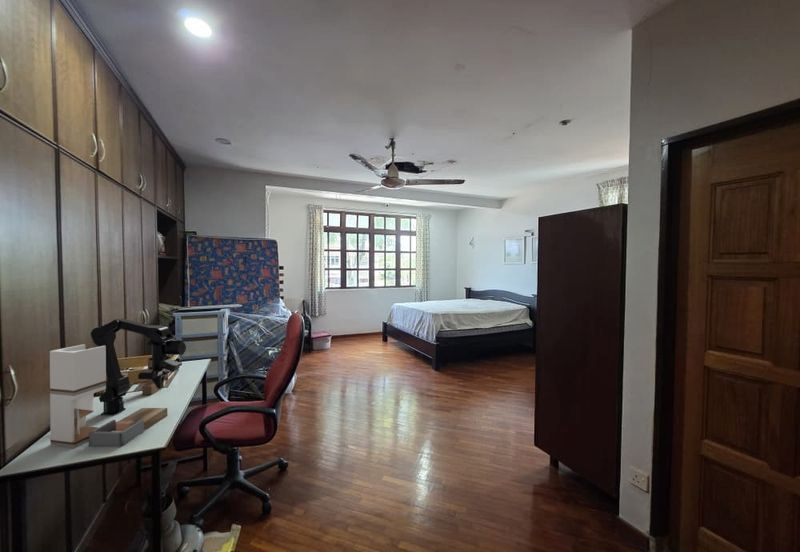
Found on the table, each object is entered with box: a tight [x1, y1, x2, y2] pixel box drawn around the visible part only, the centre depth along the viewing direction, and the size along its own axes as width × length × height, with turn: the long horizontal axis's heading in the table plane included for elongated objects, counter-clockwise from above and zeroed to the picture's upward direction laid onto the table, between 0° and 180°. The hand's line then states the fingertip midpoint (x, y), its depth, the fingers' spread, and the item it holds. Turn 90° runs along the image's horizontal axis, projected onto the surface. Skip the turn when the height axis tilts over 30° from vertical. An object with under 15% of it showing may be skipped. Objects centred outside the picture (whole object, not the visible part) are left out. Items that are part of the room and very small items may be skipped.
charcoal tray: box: [88, 419, 145, 448], centre depth 131 cm, size 12×11×5 cm
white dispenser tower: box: [49, 343, 107, 449], centre depth 130 cm, size 11×11×35 cm
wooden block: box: [141, 356, 161, 396], centre depth 180 cm, size 9×4×18 cm, turn 6°
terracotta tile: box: [116, 420, 134, 431], centre depth 134 cm, size 5×5×2 cm
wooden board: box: [116, 407, 168, 432], centre depth 144 cm, size 11×15×4 cm
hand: (159, 388), depth 155 cm, fingers closed
